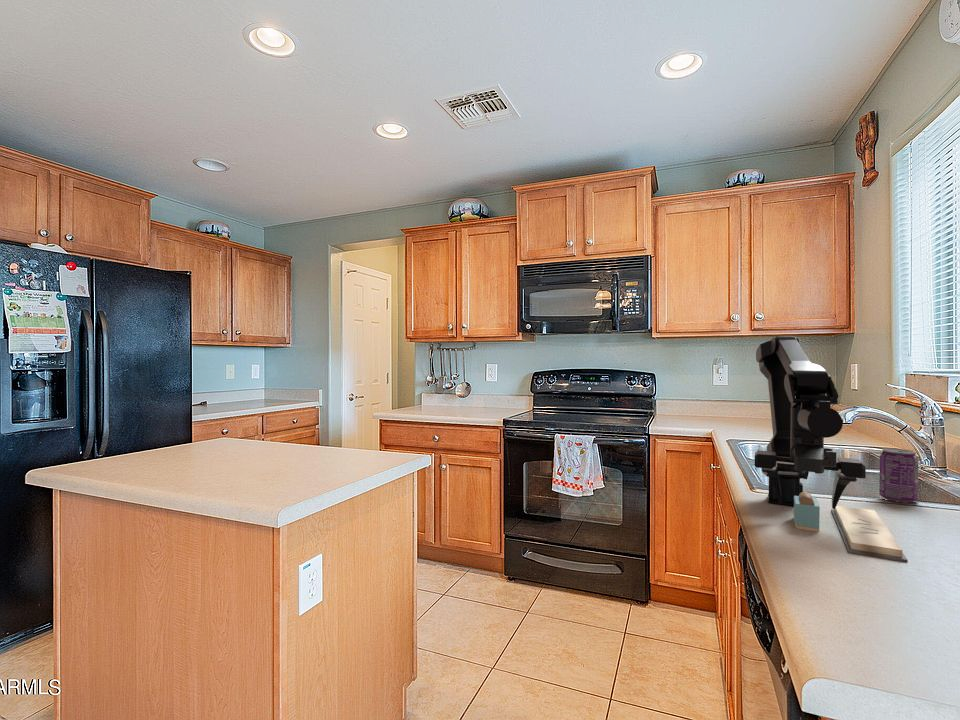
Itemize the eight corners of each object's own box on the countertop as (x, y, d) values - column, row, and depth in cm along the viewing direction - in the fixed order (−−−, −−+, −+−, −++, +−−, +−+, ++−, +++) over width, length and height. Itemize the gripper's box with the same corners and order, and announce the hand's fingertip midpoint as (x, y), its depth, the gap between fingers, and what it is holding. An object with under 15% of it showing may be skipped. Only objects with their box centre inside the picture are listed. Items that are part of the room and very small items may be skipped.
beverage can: (902, 496, 122) (903, 448, 122) (925, 505, 115) (926, 453, 115) (872, 495, 123) (872, 447, 122) (893, 504, 116) (893, 453, 115)
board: (848, 552, 87) (848, 543, 87) (831, 510, 110) (831, 503, 110) (907, 562, 83) (907, 552, 83) (876, 516, 106) (876, 509, 106)
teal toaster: (795, 528, 99) (795, 497, 99) (793, 518, 105) (794, 489, 105) (819, 532, 97) (819, 500, 97) (816, 521, 103) (816, 492, 103)
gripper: (754, 431, 99) (753, 508, 99) (871, 439, 90) (870, 524, 90) (755, 424, 109) (754, 494, 109) (861, 431, 99) (860, 508, 99)
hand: (806, 505), depth 101 cm, fingers open, 9 cm apart
